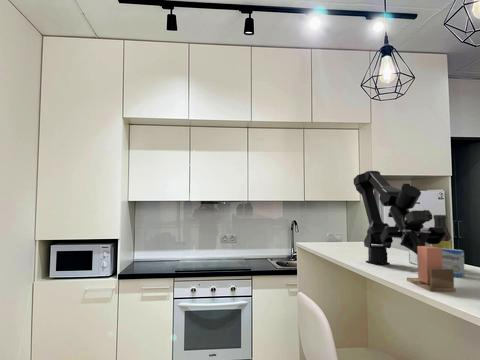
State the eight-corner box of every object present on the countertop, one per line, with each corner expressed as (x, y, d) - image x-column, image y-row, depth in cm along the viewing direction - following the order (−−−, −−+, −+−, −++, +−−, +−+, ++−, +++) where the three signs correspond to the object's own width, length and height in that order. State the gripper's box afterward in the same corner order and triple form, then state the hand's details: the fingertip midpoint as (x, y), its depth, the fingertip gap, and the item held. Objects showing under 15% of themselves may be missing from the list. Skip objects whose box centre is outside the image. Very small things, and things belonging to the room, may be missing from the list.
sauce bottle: (457, 271, 109) (455, 215, 110) (439, 271, 109) (437, 215, 110) (445, 267, 115) (443, 214, 117) (428, 267, 116) (427, 214, 117)
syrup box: (432, 265, 119) (431, 228, 120) (418, 265, 118) (417, 227, 119) (421, 262, 125) (420, 226, 126) (408, 263, 124) (407, 226, 125)
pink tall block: (418, 280, 91) (417, 245, 92) (432, 280, 91) (431, 246, 92) (427, 283, 87) (426, 248, 88) (442, 284, 87) (441, 248, 88)
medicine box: (434, 273, 105) (433, 248, 106) (437, 271, 108) (436, 247, 109) (462, 278, 100) (462, 251, 100) (464, 275, 103) (464, 249, 104)
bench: (406, 280, 95) (406, 261, 95) (429, 280, 95) (429, 261, 96) (430, 291, 84) (429, 269, 84) (456, 291, 84) (455, 269, 84)
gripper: (383, 201, 99) (403, 239, 87) (441, 202, 99) (468, 240, 87) (373, 224, 106) (389, 262, 94) (426, 225, 106) (450, 263, 94)
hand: (424, 257), depth 92 cm, fingers closed
